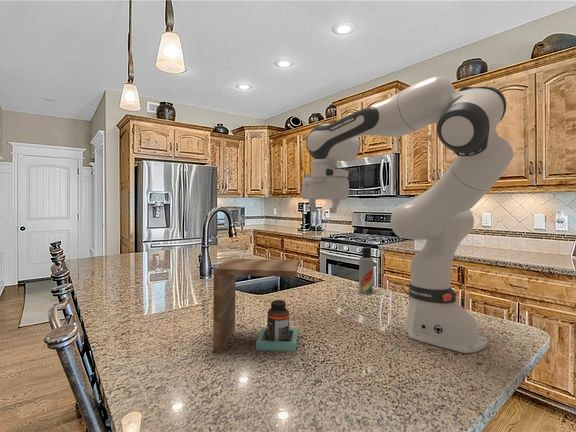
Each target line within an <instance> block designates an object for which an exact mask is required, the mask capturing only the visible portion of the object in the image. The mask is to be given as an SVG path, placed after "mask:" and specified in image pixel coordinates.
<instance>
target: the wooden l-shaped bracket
mask: <svg viewBox="0 0 576 432" xmlns="http://www.w3.org/2000/svg"><path fill="white" fill-rule="evenodd" d="M298 268H299V260H298V259H265V258H263V259H262V258H261V259H260V258H232V257H231V258H227V259H226V260H224V262H223V261H222V263H220V264H219V265H217V266H216V267H214V268H213V306H212V307H213V308H212V309H213V314H212V315H213V321H212V322H213V329H212V333H213V334H212V336H213V337H212V338H213V339H212V340H213V341H212V342H213V343H212V345H213V346H212V348H213V349H212V353H213V354H214V353H215V354H221V353H222V352H223V350H224V349H225V347H226V345H227V343H228V342H229V340H230V339H231V337H232V336H233V333H234V332H235V330H236V276H245V277H246V276H247V277H275V278H276V277H280V278H297V272H298Z"/></svg>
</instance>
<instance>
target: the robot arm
mask: <svg viewBox="0 0 576 432" xmlns="http://www.w3.org/2000/svg"><path fill="white" fill-rule="evenodd" d="M506 111H507V100H506V97H505V95H504V93H502V91H500V90H499V89H497V88H496V87H493V86H463V87H461V88H459V90H456V89H455V87H454V85H453V84H452V82H451V81H450V80H449V79H448V78H446V77H444V76H440V75H435V76H432V77H428V78H426V79H423V80H420V81H419V82H416V83H414V84H412V85H410V86H408V87H406V88H405V89H403V90H401V91H399V92H396V93H395V94H394V95H392V96H390V97H388V98H386V99H384V100H382V101H379V102H377V103H375V104H372V105H370V106H367V107H365V108H362V109H359V110H357V111H354V112H353V113H350V114H348V115H346V116H344V117H341V118H339V119H337V120H336V121H334V122H332V123H324V124H323V123H321V124H319V125H317V126H315V127H313V129H312V130H311V131H309V134H308V135H307V136H306V142H305V145H306V150H307V151H308V153H309V155H310V156H311V158H312V160H311V169H310V170H311V173H310V174H309V173H308V174H306V175H305V176H304V178H303V180H302V181H303V182H302V186H301V198H302V200H308V203H309V206H310V207H309V208H310V212H311V213H318V207H316V202H317V201H316V200H331V202H332V206H331V207H329V213H330V214H337V212H338V211H337V209H338V207H339V205H340V201H341V200H348V198H349V195H350V182H349V178H348V177H349V170H347V169H343V168H340V167H338V161H339V162H349V161H350V162H351V161H354V159H356V158H357V157H358V155H359V154H360V150H361V140H360V137H361V136H380V137H381V136H382V137H391V138H397V137H402V136H406V135H410V134H412V133H414V132H416V131H419V130H421V129H422V128H425V127H427V126H429V125H432V124H437V125H436V135H437V137H438V139H439V140H440V142H441V143H442V144H443V145H444V146H445V147H446V148H448V149H449V150H451V151H452V152H453V153H454V154H455V155H457V157H456V158H455V159H454V161H453V162H452V163H451V165H450V166H449V167H448V168H447V169H446V170H445V172H444V173H443V174H442V176H440V178H439V179H438V180H437V182H436V183H435V184H434V185H432V186H431V187H430V188H428V189H427V190H426V191H424V192H423V193H421V194H420V195H418V196H416V197H415V198H413V199H412V200H409V201H407V202H405V203H402V204H400V205H397V206H396V207H395V208H394V209H393V211H392V213H391V216H390V227H391V229H392V232H393V233H394V234H395V235H396V236H397V237H399V238H403V239H407V240H412V241H413V240H415V241H423V240H424V241H425V240H426V241H425V243H424V245H423V247H422V248H421V250H420V251H418V252H417V253H415V254H414V255H413V256H412V258H411V261H410V282H409V284H408V299H409V301H408V308H407V314H406V320H405V322H404V325H403V330H404V331H405V332H406V333H407V336H408V338H409V339H411V340H413V341H419V342H423V343H426V344H429V345H434V346H437V347H440V348H445V349H448V350H451V351H455V352H459V353H462V354H472V353H476V352H479V351H483V350H484V349H485V348H486V347H487V346H488V338H487V337H485V336H484V335H481V334H479V325H478V321H477V320H476V318H475V317H474V316H472V315H471V313H469V312H468V311H467V310H466V309H465V308H464V307H463V306H461V304H460V303H459V302H457V296H459V295H460V294H459V293H460V291H459V290H457V291H455V290H454V289H453V288H452V286H451V279H452V278H451V277H452V276H451V275H452V266H453V260H454V256H455V255H456V251H457V249H458V247H459V245H460V244H461V242H462V241H463V240H464V239H465V238H466V237H467V236H469V234H470V233H471V232H472V230H473V228H474V226H475V218H474V214H473V212H472V210H471V209H472V208H473V207H475V205H476V204H478V202H480V200H481V199H482V198H484V196H485V195H486V194H487V193H488V192H489V191H490V190H491V189H492V187H493V186H495V185H496V183H497V182H498V180H500V178H501V177H502V176H503V175H504V173H505V172H506V170H507V168H508V167H509V165H510V163H511V162H512V160H513V157H514V150H513V147H512V145H511V144H510V143H509V142H508V141H507V140H506V139H504V138H503V137H501V136H500V135H499V134H498V133H497V129H496V128H497V126H498V125H499V123H500V122H501V121H502V120H503V118H504V116H505V115H506Z"/></svg>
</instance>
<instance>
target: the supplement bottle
mask: <svg viewBox="0 0 576 432" xmlns="http://www.w3.org/2000/svg"><path fill="white" fill-rule="evenodd" d="M286 303H287V301H285V300H282V299H274V300H272V301H271V305H270V306H271V307H270V308H269V309H268V311H267V327H266V328H267V336H266V337H267V338H266V339H267V340H266V341H286V342H290V341H289V339H290V337H289V329H290V311H289V309H288V308H286V307H287V304H286Z"/></svg>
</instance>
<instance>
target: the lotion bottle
mask: <svg viewBox="0 0 576 432" xmlns="http://www.w3.org/2000/svg"><path fill="white" fill-rule="evenodd" d="M358 267H359V270H358V273H359V274H358V275H359V276H358V281H359V282H358V292H359V294H362V295H372V294H373V285H374V284H373V282H374V257H372V248H371V246H363V247H361V257H359V266H358Z"/></svg>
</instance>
